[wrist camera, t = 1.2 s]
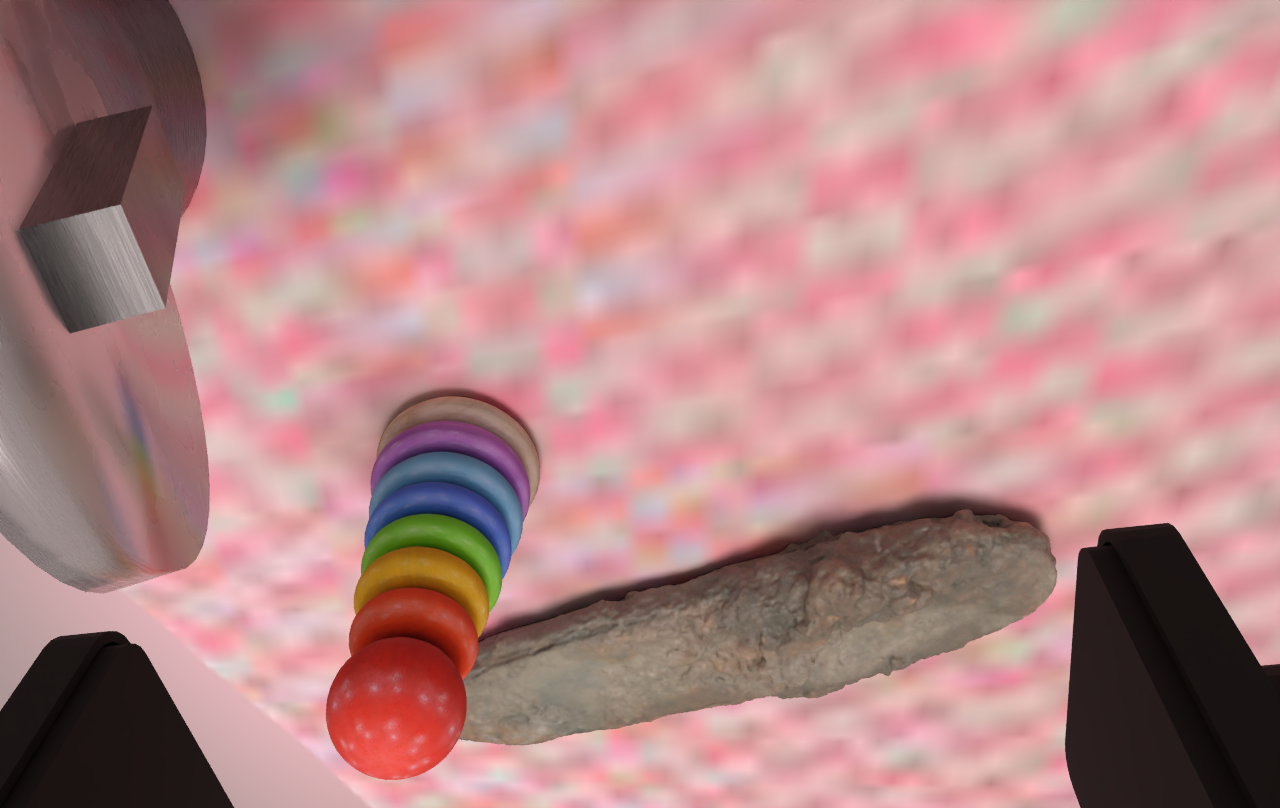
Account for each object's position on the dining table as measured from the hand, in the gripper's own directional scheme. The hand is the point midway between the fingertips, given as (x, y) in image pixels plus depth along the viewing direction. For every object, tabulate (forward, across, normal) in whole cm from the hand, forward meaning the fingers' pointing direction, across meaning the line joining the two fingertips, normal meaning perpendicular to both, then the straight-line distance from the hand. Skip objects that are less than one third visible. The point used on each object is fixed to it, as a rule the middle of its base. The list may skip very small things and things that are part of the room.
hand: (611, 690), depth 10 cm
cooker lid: (+16, +16, 0) cm, 22 cm away
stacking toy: (+36, +13, +21) cm, 44 cm away
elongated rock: (+36, +2, +34) cm, 50 cm away
